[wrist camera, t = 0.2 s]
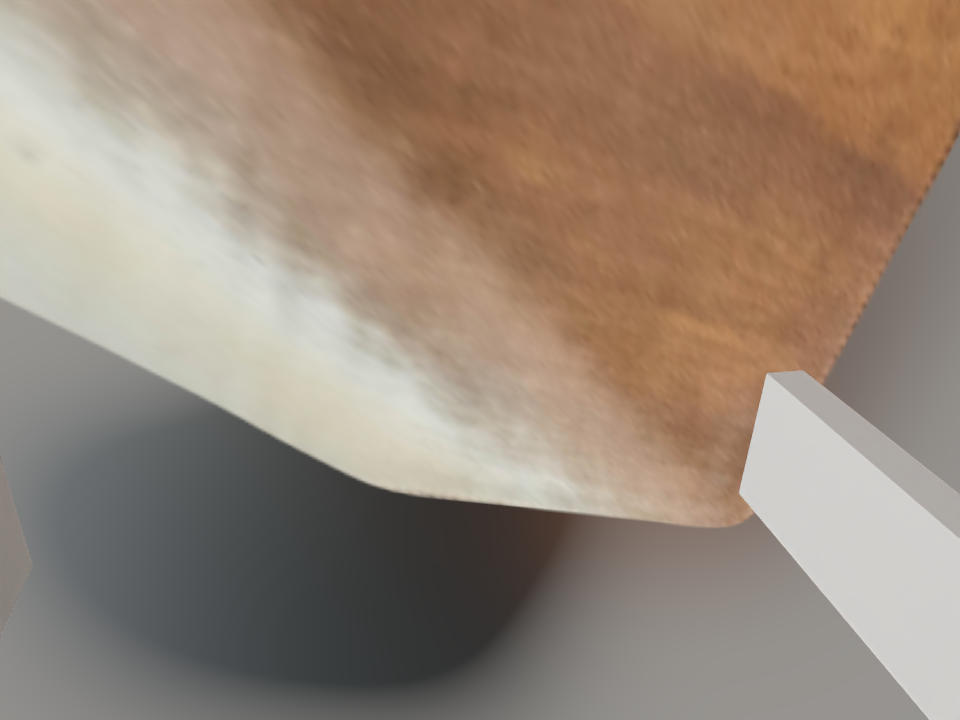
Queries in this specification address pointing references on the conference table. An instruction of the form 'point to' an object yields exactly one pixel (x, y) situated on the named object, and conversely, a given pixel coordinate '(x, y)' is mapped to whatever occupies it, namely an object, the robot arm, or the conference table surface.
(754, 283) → the conference table surface
